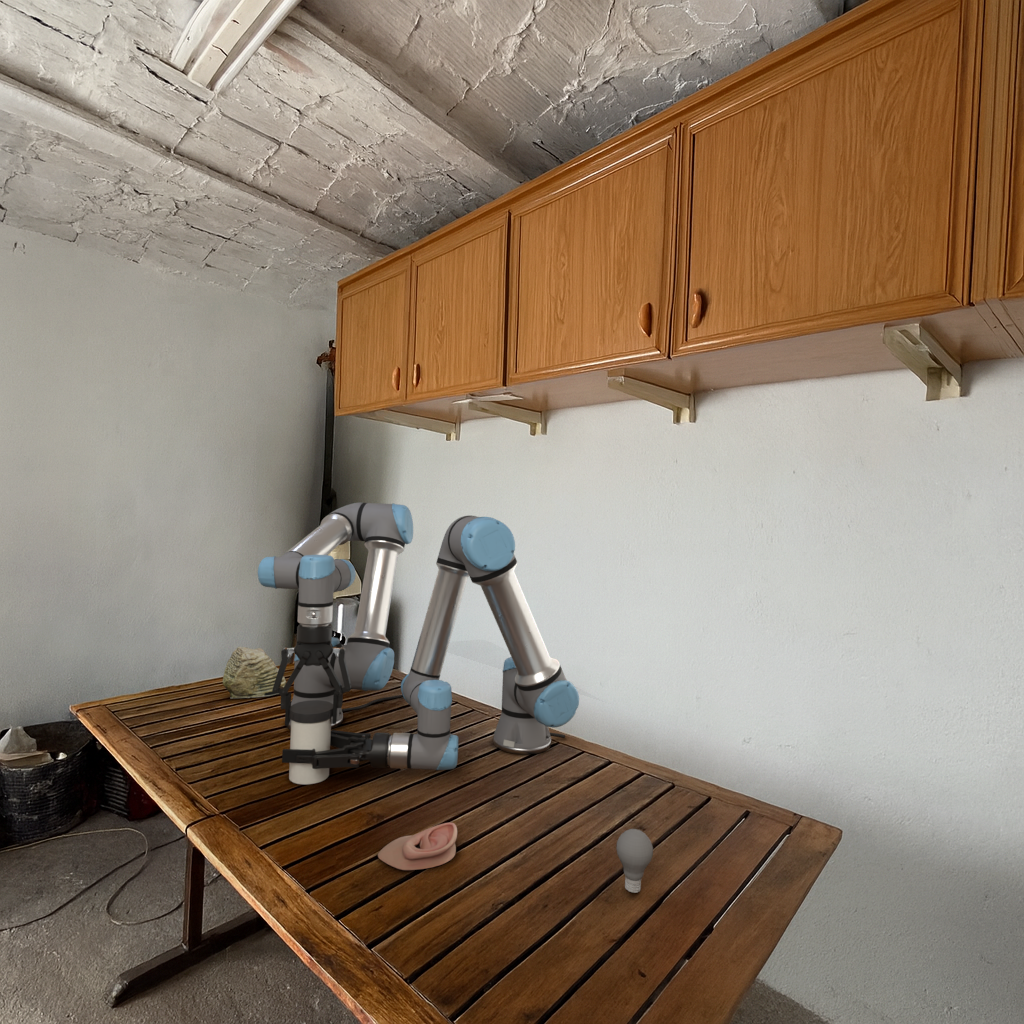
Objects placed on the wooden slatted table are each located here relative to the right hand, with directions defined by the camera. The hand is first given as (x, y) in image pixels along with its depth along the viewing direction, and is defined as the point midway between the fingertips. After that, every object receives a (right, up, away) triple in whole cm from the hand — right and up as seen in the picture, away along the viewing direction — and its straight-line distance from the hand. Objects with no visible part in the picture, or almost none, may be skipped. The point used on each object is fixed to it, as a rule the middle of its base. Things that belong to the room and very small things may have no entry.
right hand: (289, 747), depth 143 cm
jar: (+4, -7, 0) cm, 8 cm away
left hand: (+5, +6, 0) cm, 7 cm away
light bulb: (+70, -10, -37) cm, 80 cm away
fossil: (-30, -4, +55) cm, 63 cm away
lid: (+5, +9, 0) cm, 10 cm away
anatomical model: (+33, -8, -29) cm, 45 cm away
